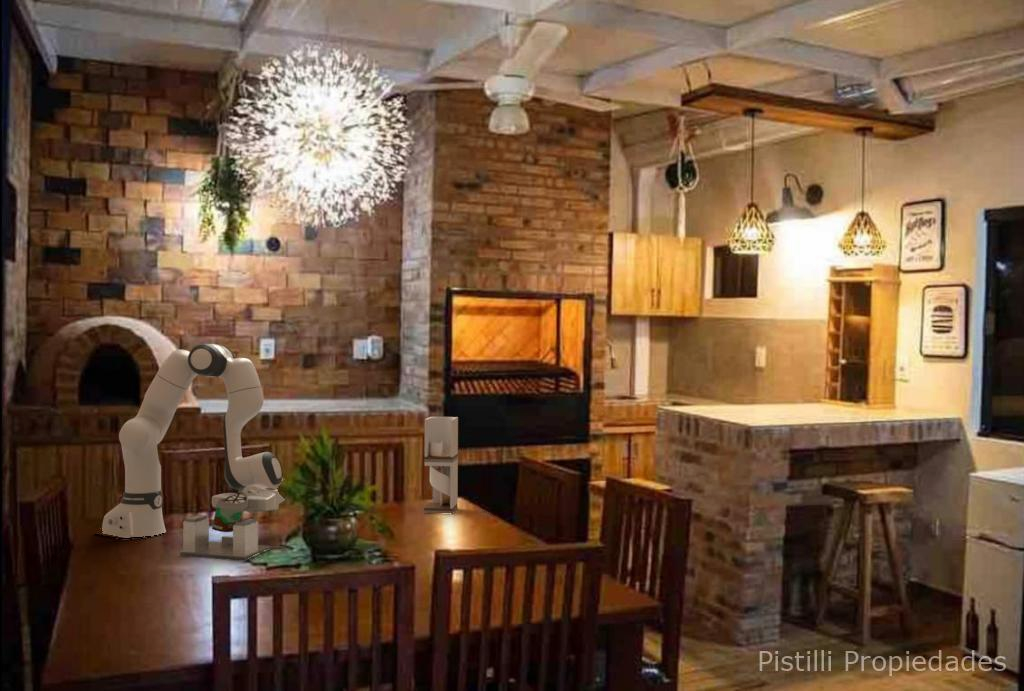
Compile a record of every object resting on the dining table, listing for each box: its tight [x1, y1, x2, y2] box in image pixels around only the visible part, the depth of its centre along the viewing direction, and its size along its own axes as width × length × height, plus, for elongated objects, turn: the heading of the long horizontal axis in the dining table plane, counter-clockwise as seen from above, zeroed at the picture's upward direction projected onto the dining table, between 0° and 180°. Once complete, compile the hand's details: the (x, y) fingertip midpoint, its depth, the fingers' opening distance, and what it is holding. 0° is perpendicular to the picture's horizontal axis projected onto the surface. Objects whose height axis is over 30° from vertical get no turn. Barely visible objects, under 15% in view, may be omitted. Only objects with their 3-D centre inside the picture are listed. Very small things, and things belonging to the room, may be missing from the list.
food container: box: [211, 490, 248, 533], centre depth 276 cm, size 12×6×10 cm, turn 165°
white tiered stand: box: [423, 416, 459, 515], centre depth 344 cm, size 11×11×35 cm
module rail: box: [179, 514, 273, 561], centre depth 277 cm, size 22×15×11 cm
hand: (230, 506), depth 278 cm, fingers closed on food container
